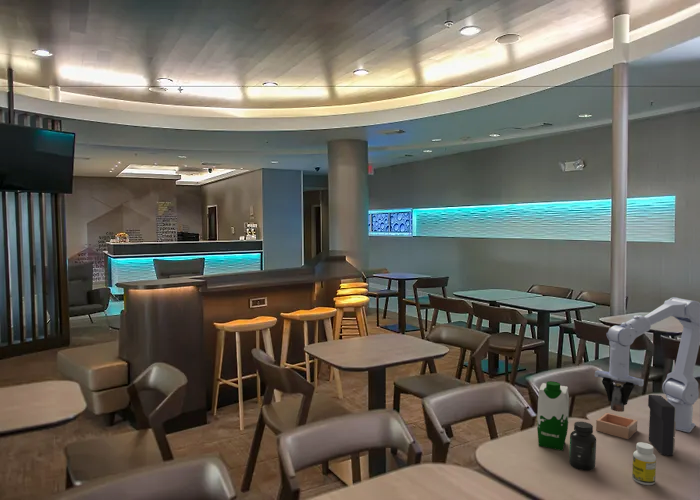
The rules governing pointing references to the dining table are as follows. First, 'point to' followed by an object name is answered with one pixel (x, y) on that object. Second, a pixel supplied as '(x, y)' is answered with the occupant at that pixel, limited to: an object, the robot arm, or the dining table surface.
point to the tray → (616, 425)
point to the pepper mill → (617, 397)
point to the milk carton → (552, 415)
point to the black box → (662, 424)
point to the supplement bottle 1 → (582, 447)
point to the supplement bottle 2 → (644, 464)
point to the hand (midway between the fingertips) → (617, 402)
